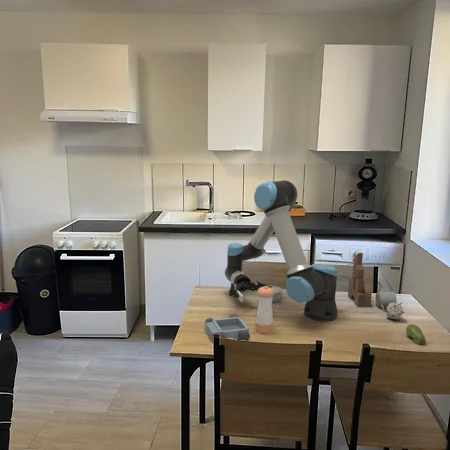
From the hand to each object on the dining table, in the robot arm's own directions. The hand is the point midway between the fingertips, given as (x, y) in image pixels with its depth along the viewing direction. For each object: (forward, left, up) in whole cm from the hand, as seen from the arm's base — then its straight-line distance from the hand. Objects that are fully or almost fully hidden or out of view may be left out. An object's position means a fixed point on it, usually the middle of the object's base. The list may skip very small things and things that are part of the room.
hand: (257, 297), depth 186 cm
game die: (-52, -34, -11) cm, 63 cm away
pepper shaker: (-6, +6, -11) cm, 14 cm away
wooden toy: (-34, -48, -11) cm, 60 cm away
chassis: (+6, +17, -11) cm, 21 cm away
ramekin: (+5, -28, -11) cm, 31 cm away
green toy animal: (-63, -17, -11) cm, 66 cm away
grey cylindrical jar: (-48, -46, -11) cm, 67 cm away
